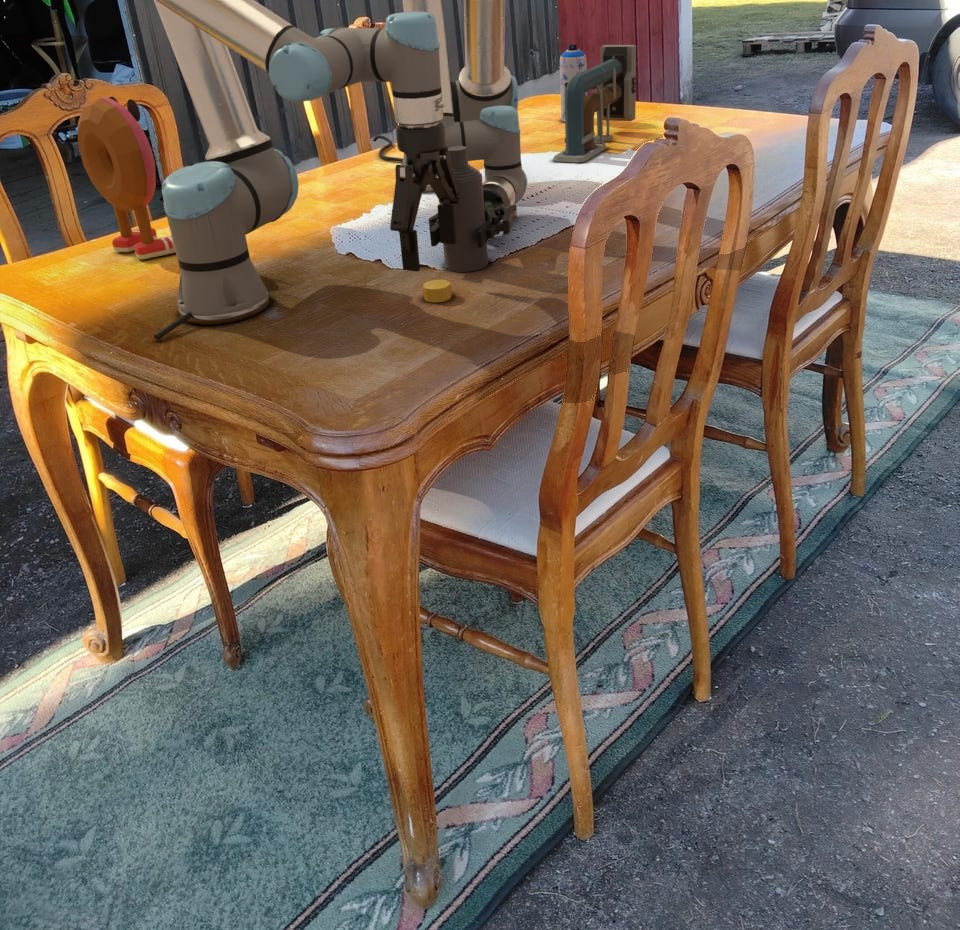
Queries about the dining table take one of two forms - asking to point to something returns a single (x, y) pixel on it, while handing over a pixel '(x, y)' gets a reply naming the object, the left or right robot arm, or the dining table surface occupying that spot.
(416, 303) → the dining table surface
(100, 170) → the toy
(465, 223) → the bottle
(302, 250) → the dining table surface
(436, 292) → the cap
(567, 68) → the aerosol can
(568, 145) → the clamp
